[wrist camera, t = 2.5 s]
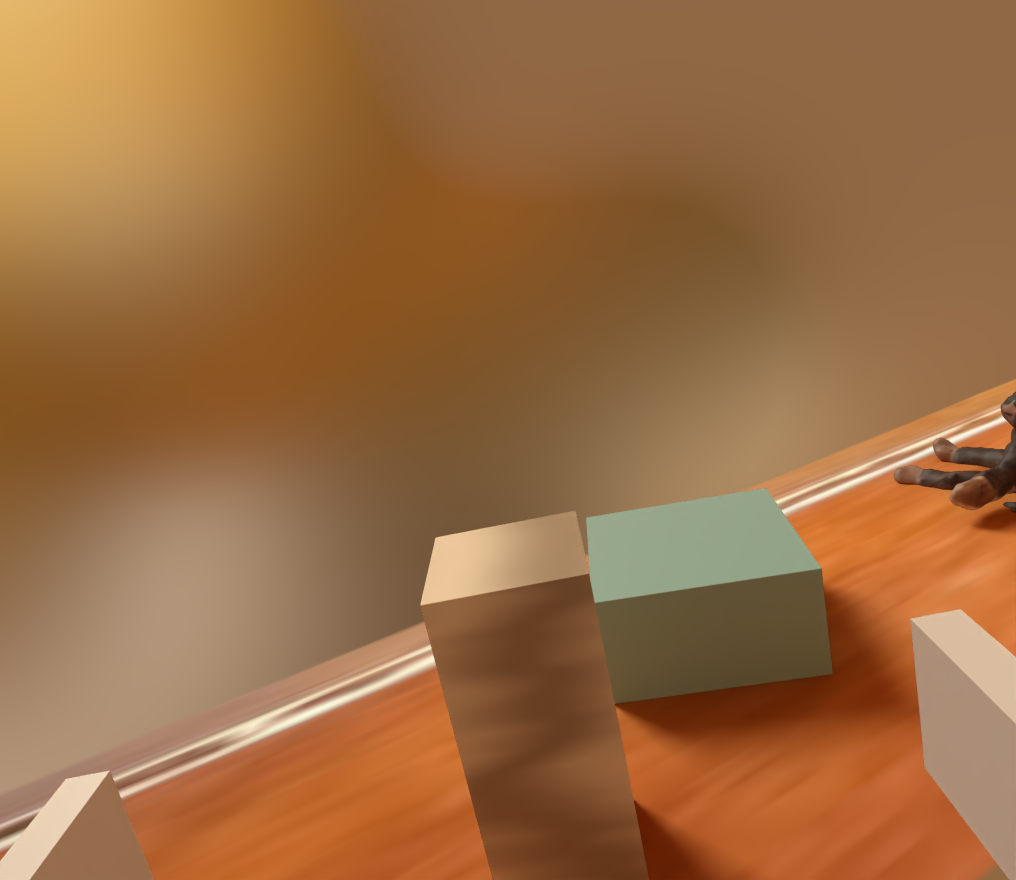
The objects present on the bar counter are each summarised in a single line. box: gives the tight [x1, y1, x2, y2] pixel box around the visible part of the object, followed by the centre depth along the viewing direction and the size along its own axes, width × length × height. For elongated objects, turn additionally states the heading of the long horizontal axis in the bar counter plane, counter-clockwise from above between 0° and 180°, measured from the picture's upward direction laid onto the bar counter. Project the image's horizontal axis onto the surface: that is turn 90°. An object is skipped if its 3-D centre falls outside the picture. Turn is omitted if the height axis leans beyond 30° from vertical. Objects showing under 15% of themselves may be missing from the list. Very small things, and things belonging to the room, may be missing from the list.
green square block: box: [586, 488, 833, 704], centre depth 36 cm, size 9×9×5 cm
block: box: [421, 511, 649, 880], centre depth 24 cm, size 4×4×11 cm
